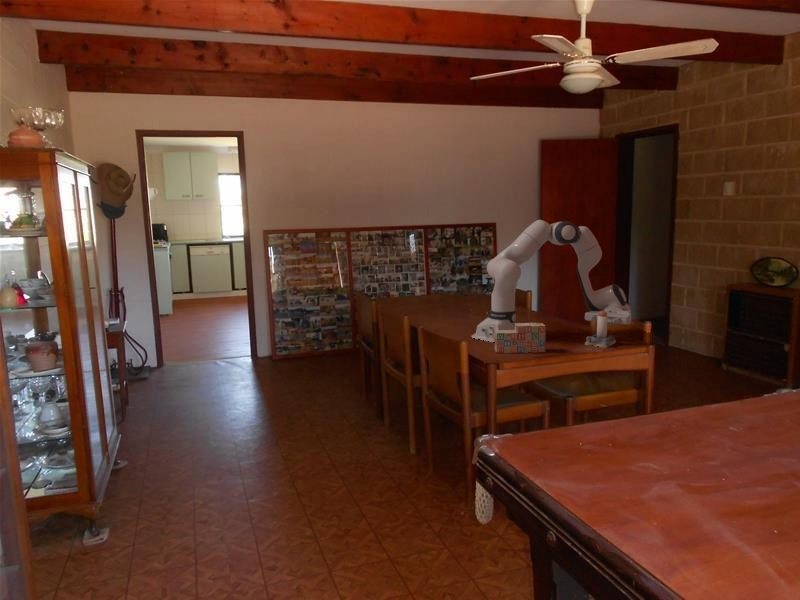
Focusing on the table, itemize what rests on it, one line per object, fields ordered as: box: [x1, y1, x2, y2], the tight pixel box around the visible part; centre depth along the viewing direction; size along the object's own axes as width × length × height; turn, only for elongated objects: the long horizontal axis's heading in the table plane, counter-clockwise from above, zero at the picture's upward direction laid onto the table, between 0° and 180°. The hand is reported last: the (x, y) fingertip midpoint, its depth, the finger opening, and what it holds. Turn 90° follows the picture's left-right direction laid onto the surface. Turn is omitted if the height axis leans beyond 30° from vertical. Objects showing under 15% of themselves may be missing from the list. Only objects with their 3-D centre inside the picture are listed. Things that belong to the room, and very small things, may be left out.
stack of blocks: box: [494, 322, 547, 354], centre depth 261 cm, size 21×6×12 cm, turn 89°
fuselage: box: [596, 310, 608, 339], centre depth 269 cm, size 4×4×14 cm
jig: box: [584, 333, 617, 349], centre depth 272 cm, size 10×12×4 cm
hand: (602, 320), depth 268 cm, fingers open, 8 cm apart
